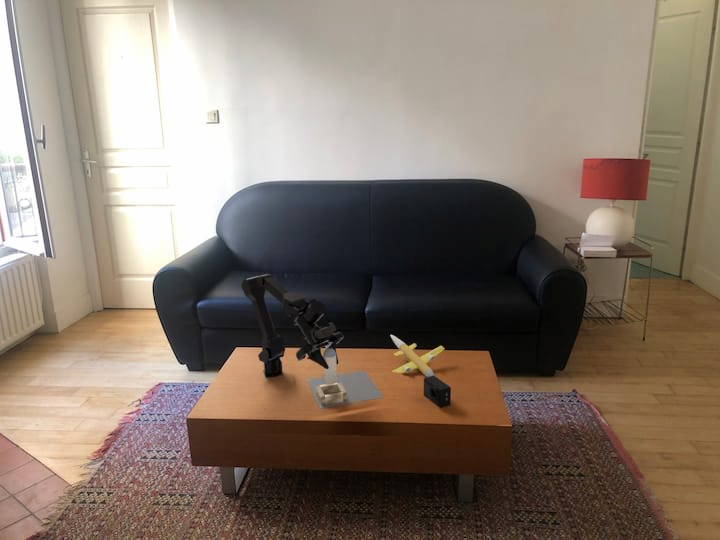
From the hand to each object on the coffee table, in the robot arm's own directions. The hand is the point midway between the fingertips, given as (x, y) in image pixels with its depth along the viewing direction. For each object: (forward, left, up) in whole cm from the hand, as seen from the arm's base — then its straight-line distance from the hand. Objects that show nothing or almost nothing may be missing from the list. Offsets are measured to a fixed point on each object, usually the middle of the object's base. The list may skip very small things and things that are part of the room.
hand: (332, 366), depth 186 cm
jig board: (+5, +6, -13) cm, 16 cm away
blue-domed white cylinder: (-1, +1, -6) cm, 6 cm away
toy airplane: (+36, +16, -14) cm, 42 cm away
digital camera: (+33, -12, -13) cm, 38 cm away
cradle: (-1, +1, -13) cm, 13 cm away
